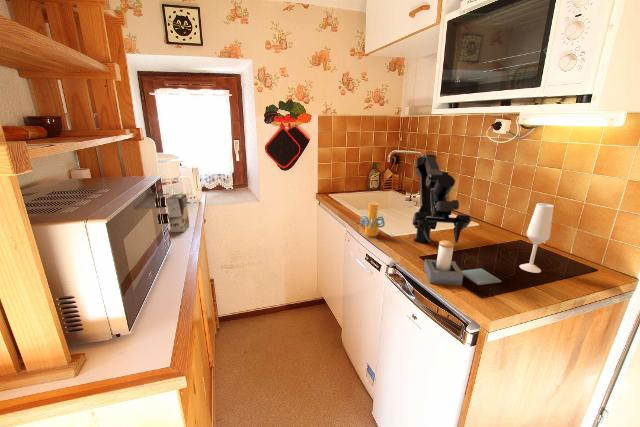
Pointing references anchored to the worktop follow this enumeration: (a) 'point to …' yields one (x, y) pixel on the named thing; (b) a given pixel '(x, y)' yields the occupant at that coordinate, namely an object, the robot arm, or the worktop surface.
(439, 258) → the plug
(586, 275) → the worktop surface
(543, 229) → the champagne flute
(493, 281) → the pad
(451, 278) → the frame
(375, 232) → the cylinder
